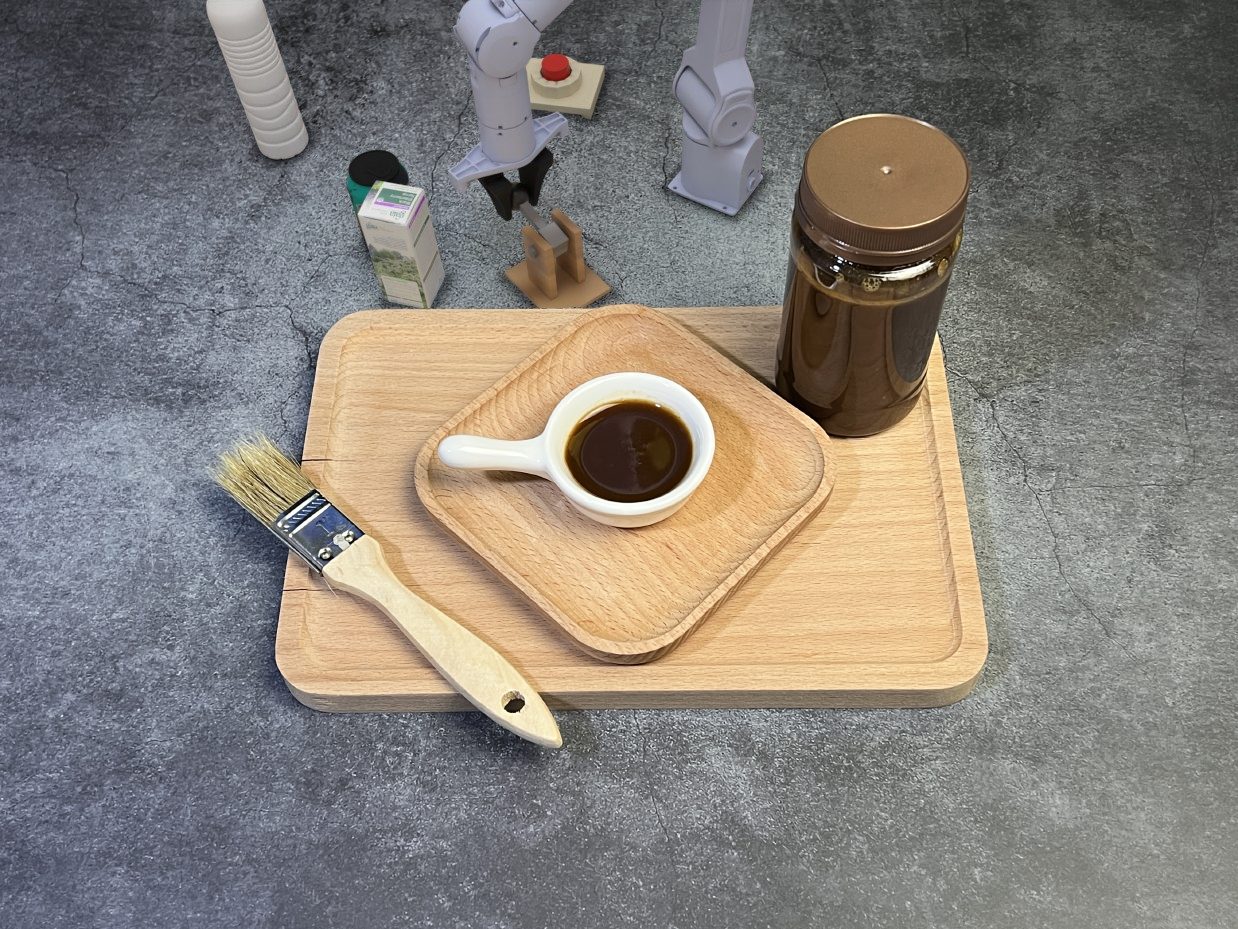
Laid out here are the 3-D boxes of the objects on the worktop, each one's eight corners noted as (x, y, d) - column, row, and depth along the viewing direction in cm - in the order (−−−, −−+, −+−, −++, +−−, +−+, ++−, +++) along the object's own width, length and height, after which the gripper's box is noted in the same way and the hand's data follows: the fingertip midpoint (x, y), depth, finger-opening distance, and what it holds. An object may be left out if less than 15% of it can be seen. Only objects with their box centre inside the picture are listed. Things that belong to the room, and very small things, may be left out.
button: (572, 66, 146) (571, 55, 144) (566, 83, 144) (565, 72, 142) (546, 63, 146) (544, 52, 145) (539, 80, 144) (538, 69, 143)
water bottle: (296, 164, 141) (233, -13, 120) (250, 156, 143) (180, -21, 122) (324, 120, 146) (268, -58, 125) (279, 112, 147) (216, -65, 126)
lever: (495, 201, 125) (496, 184, 122) (518, 188, 126) (519, 171, 123) (547, 264, 123) (549, 248, 120) (570, 250, 124) (573, 234, 121)
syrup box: (447, 277, 130) (425, 184, 118) (429, 314, 127) (405, 223, 115) (402, 269, 131) (376, 176, 119) (384, 305, 128) (355, 213, 116)
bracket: (505, 278, 130) (495, 220, 122) (559, 246, 132) (553, 188, 124) (556, 328, 125) (549, 272, 117) (611, 294, 128) (608, 237, 120)
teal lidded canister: (389, 214, 136) (368, 137, 126) (435, 234, 134) (417, 158, 124) (354, 251, 133) (329, 175, 123) (400, 272, 131) (379, 196, 121)
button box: (604, 75, 149) (603, 53, 146) (590, 119, 145) (589, 97, 142) (526, 67, 151) (523, 45, 148) (509, 110, 146) (506, 88, 143)
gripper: (537, 63, 118) (548, 161, 130) (424, 121, 114) (445, 218, 125) (577, 96, 115) (584, 193, 126) (462, 157, 110) (480, 253, 122)
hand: (517, 208), depth 125 cm, fingers closed on lever, 3 cm apart
